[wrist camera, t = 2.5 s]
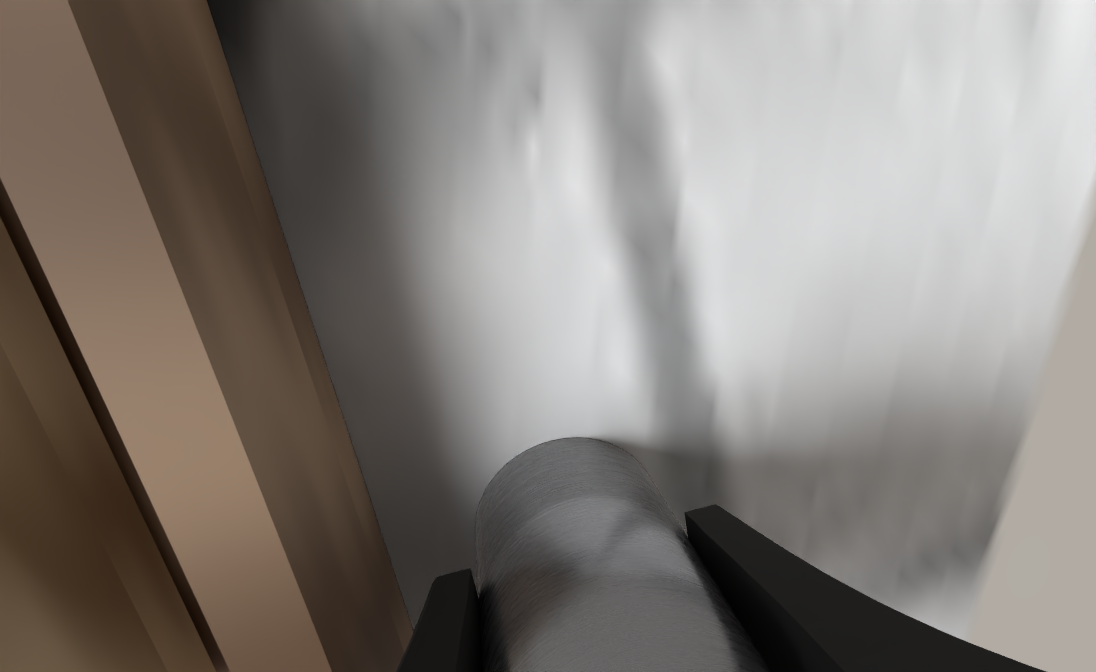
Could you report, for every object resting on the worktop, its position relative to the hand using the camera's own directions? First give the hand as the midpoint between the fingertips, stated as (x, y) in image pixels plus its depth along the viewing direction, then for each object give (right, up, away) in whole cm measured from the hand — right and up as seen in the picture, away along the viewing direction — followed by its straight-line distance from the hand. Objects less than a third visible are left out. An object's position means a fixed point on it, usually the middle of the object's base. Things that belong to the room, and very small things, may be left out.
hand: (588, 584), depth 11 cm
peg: (0, +1, +2) cm, 2 cm away
